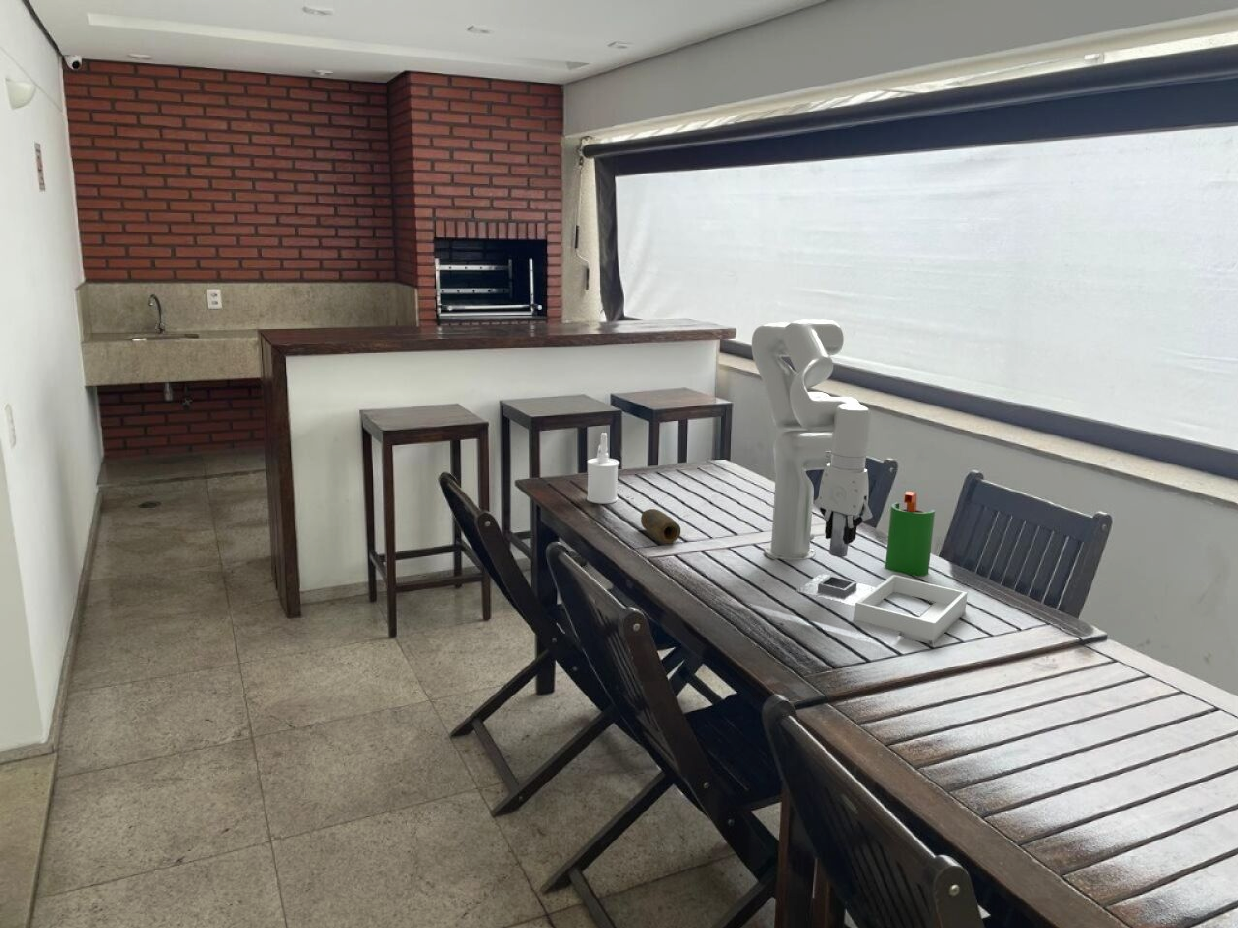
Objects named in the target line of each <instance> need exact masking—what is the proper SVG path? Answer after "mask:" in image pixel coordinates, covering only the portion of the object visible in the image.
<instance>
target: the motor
mask: <svg viewBox="0 0 1238 928" xmlns="http://www.w3.org/2000/svg"><path fill="white" fill-rule="evenodd" d="M903 502H904V503H906V508H902V509H900V502H894V503H892V504H890V510H889V511H890V512H889V521H888V522H889V523H888V532H887V542H886V551H885V552H886V553H885V560H884V561H885V563H884V569H885V570H887V571H891V572H896V573H901V574H904V575H909V576H912V577H917V578H919V577H925V576H927V575H928V574H929V572H930V571H929V569H930V562H931V561H930V560H931V552H932V542H933V536H934V535H933V534H934V532H933V531H934V526H935V525H934V524H935V516H936V515H935V514H936V510H935V509H930V510H929V511H927V512H925V511H923V510H919V509H917V493H916V492H914V491H913V492H912V491H906V492H905V493H904V500H903Z"/></svg>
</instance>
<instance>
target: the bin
mask: <svg viewBox="0 0 1238 928" xmlns="http://www.w3.org/2000/svg"><path fill="white" fill-rule="evenodd" d="M875 587H876V588H875V589H873V590H872V591H871V592H869V593H868V594H867V595H865V596H864V597H862V598H861V599H860V600H858V601H857V602H856V603H855V606H854V611H853V612H854V613H853V620H856V621H860V622H865V623H868V624H871V625H875V626H878V627H879V626H880V627H883V628H887V629H891V630H894V631H898V632H900V633H899V634H898V636H900V637H904V638H908V639H911V640H915V641H918V642H921V643H922V642H923V643H926V644H930V645H934V644H935V643H936V642H937V641H938V640H939V639H940V637H941V636H943V634H945V633H946V632H947V631H948V630H949V629H950V628H951V627H952V626H953V625H954V624H955V623H956V621H958V620H959V619H960V618H961V617H962V616H963V615H964V614H965V613H966V611H967V610H966V609H967V602H968V593H969V592H968V591H964V590H960V589H955V588H951V587H947V586H943V585H938V584H933V583H929V582H925V581H920V580H917V579H913V578H908V577H905V576H904V577H903V576H901V575H896V574H893V575H891V576H889V577H888V578H886V579H885V580H884V581H883V582H882V583H879V584H878V585H877V586H875ZM893 593H899V594H902V595H905V596H911V597H913V598H919V599H924V600H927V601H932V602H933V604H931V605H930V606H929V607H928V608H927V609H926V610H924V611H923V613H921V614H920V615H919V616H918V617H917V616H915V615H911V614H906V613H901V612H899V611H895V610H891V609H888V608H882V607H879V606H877V605H879V603H880V602H883V600H884V599H886V598H887V597H888V596H890V595H891V594H893Z"/></svg>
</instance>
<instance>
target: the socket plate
mask: <svg viewBox="0 0 1238 928" xmlns="http://www.w3.org/2000/svg"><path fill="white" fill-rule="evenodd" d="M876 587H877V586H873V585H870V584H865V583H862V582H861V583H860V582H857V581H854V580H849V579H845V578H843V577H841V578H840V577H837V576H833V575H829V574H823V573H820V574H818V575H817V576H815V577H814V578H812V579H811V580H809V581H807V582H806V583H805V584H803V585H801V586H799V587H798V588H797V589H795V590H794V591H795V592H798V593H801V594H806V595H809V596H813V597H818V598H821V599H826V600H828V601H833V602H838V603H840V604H841V603H842V604H845V605H848V606H853V607H855V603H856V602H857V601H858V600H860V599H861V598H862V597H864V596H865V595H867V594H868V593H869V592H871V591H872V590H873V589H875V588H876Z"/></svg>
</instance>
